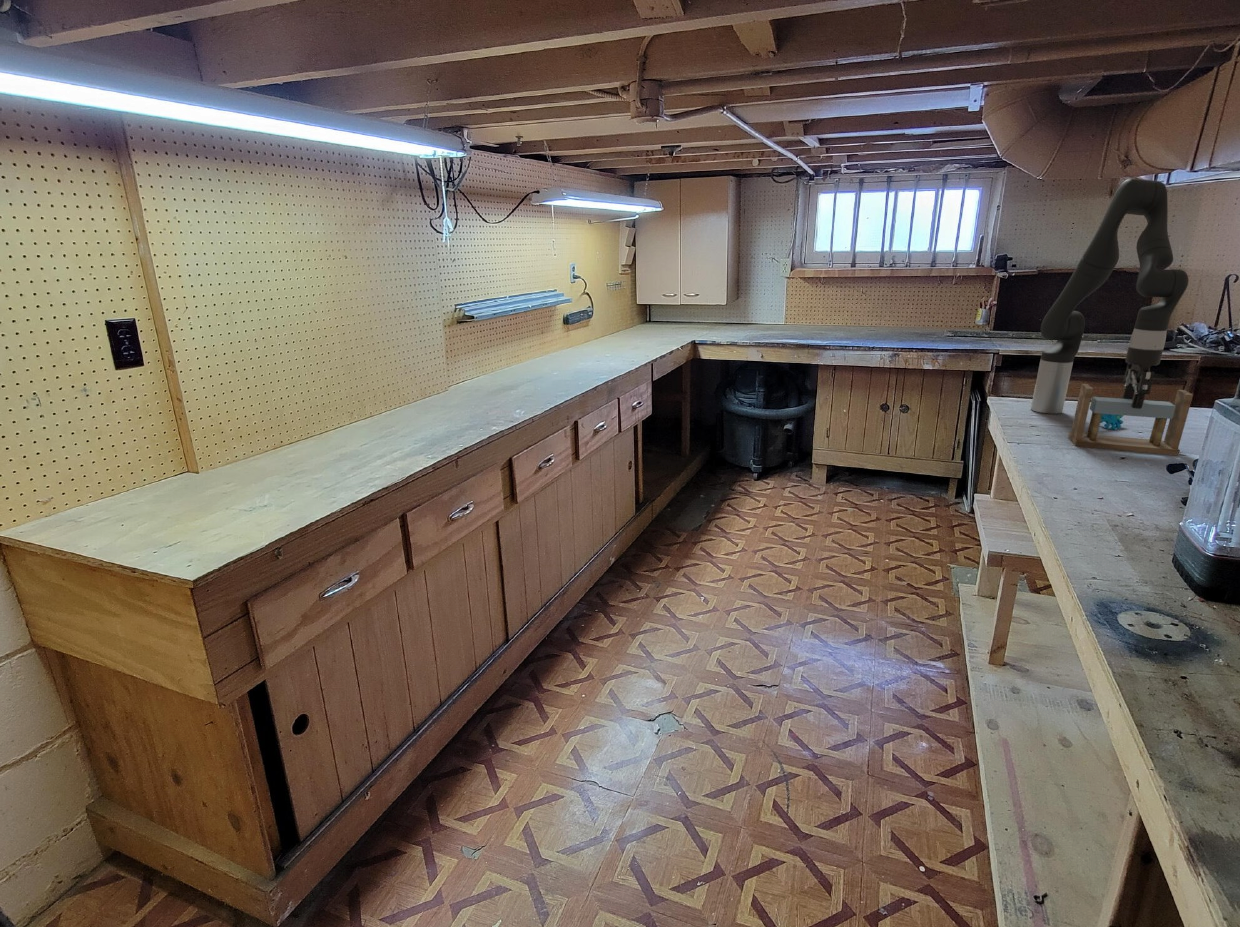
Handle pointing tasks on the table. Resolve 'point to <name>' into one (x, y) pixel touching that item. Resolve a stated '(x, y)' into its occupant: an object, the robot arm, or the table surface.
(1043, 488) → the table surface
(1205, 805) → the table surface
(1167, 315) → the robot arm
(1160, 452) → the stand
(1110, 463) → the table surface
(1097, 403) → the grey rectangular block
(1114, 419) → the gear
